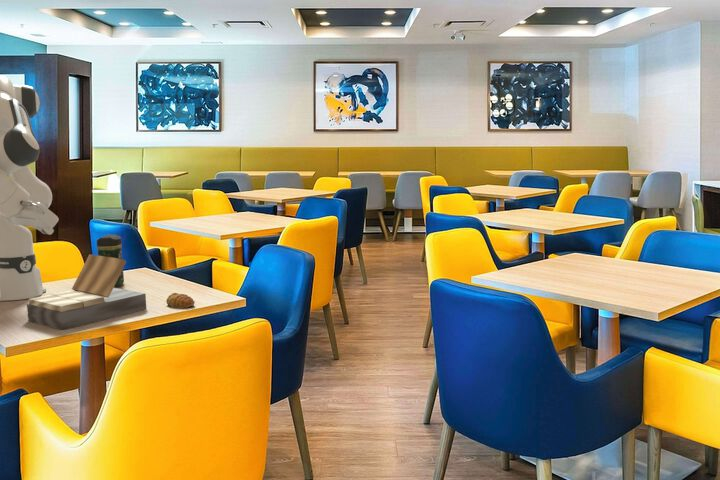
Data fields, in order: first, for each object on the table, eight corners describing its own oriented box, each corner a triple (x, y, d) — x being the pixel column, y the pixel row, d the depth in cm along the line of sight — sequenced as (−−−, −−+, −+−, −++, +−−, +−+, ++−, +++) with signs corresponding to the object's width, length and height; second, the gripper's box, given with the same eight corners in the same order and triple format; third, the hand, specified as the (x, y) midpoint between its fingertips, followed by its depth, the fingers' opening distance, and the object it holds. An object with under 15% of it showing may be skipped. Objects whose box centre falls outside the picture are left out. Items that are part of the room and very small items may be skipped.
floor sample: (28, 320, 203) (26, 299, 202) (111, 302, 225) (110, 282, 224) (62, 330, 192) (60, 306, 191) (146, 309, 214) (145, 288, 214)
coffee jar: (119, 288, 247) (115, 236, 244) (96, 288, 246) (92, 237, 244) (127, 282, 256) (123, 232, 253) (105, 283, 256) (101, 233, 253)
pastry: (200, 305, 219) (199, 294, 218) (183, 310, 213) (182, 298, 213) (180, 302, 224) (180, 290, 224) (163, 306, 219) (163, 295, 218)
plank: (75, 291, 214) (71, 288, 213) (93, 256, 218) (89, 254, 217) (108, 297, 204) (104, 295, 203) (126, 261, 208) (122, 259, 207)
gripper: (40, 193, 183) (76, 226, 192) (1, 191, 195) (37, 221, 204) (25, 211, 180) (63, 244, 189) (-14, 208, 192) (23, 238, 201)
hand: (49, 232), depth 196 cm, fingers closed
